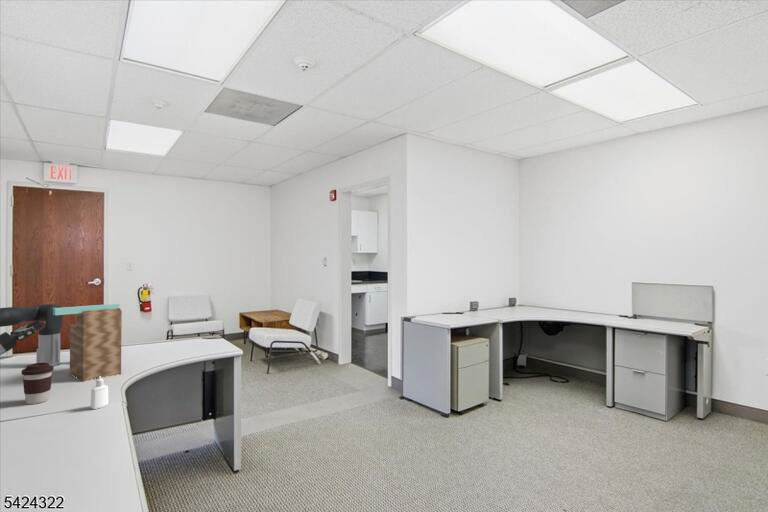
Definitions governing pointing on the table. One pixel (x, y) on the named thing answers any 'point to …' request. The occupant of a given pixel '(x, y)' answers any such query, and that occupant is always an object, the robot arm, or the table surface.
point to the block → (82, 309)
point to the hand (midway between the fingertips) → (41, 322)
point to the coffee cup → (37, 382)
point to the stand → (96, 344)
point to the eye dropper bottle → (99, 394)
